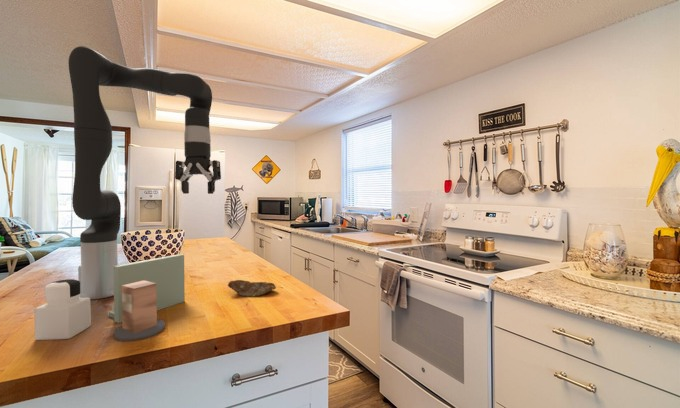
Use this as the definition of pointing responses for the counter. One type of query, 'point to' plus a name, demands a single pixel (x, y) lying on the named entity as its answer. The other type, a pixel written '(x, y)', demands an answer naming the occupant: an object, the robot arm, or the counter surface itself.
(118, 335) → the mat
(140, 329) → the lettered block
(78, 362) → the counter surface
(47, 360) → the counter surface
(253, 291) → the decorative stone
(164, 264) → the screen
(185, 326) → the counter surface
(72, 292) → the white stepped block
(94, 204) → the robot arm
